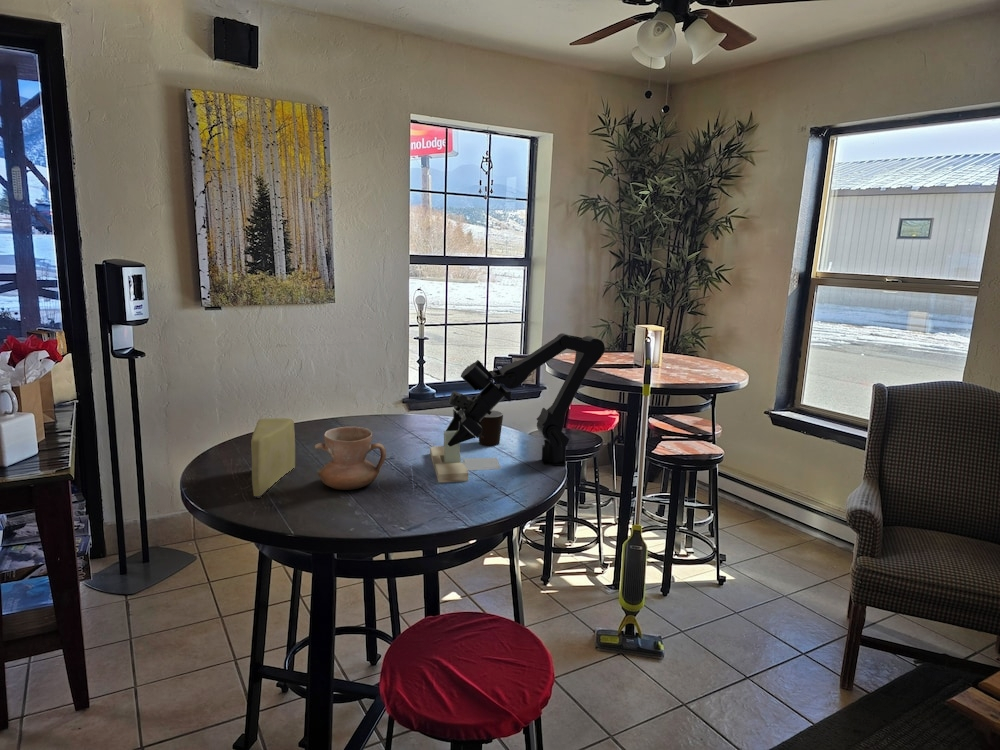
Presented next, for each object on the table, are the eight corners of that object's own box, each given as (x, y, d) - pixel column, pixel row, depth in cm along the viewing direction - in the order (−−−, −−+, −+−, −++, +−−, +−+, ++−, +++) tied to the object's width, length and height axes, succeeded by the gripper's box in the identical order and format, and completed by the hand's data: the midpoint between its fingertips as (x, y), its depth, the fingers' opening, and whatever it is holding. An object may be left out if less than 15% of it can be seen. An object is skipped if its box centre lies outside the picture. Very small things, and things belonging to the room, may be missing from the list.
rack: (456, 453, 195) (456, 445, 195) (468, 481, 172) (468, 472, 172) (430, 454, 194) (430, 446, 193) (438, 483, 171) (438, 474, 170)
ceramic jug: (311, 495, 161) (310, 441, 158) (319, 474, 175) (318, 424, 172) (384, 494, 163) (384, 441, 160) (386, 474, 177) (387, 424, 174)
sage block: (457, 463, 185) (457, 430, 183) (459, 468, 182) (459, 434, 180) (443, 464, 185) (443, 431, 183) (445, 469, 181) (445, 435, 179)
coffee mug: (500, 448, 200) (501, 417, 198) (473, 447, 202) (473, 416, 200) (506, 438, 212) (506, 408, 210) (480, 436, 213) (480, 407, 211)
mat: (496, 458, 191) (496, 457, 191) (502, 470, 182) (502, 469, 182) (463, 459, 190) (463, 458, 190) (466, 471, 180) (466, 470, 180)
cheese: (277, 499, 159) (274, 440, 156) (236, 499, 158) (232, 441, 155) (296, 468, 180) (294, 416, 177) (261, 468, 179) (258, 416, 176)
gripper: (461, 375, 188) (423, 413, 188) (471, 389, 170) (429, 431, 170) (487, 400, 191) (450, 437, 191) (499, 417, 173) (458, 458, 173)
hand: (446, 440), depth 181 cm, fingers open, 9 cm apart
